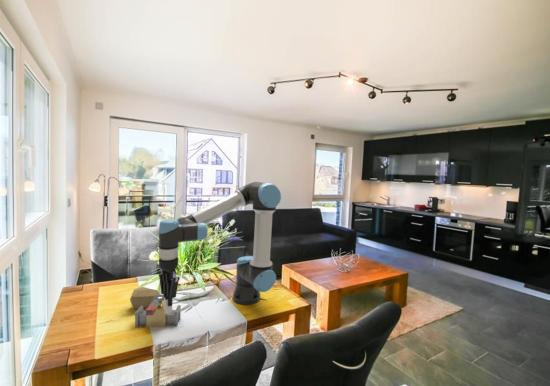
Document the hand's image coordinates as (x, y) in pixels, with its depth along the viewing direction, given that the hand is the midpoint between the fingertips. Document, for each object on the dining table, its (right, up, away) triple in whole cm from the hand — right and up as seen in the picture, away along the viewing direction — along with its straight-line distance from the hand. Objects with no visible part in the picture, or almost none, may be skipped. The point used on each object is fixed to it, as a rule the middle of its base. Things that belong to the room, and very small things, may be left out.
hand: (168, 312), depth 116 cm
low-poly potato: (-21, -8, +24) cm, 32 cm away
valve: (-8, -9, +10) cm, 16 cm away
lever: (-7, 0, +4) cm, 9 cm away
